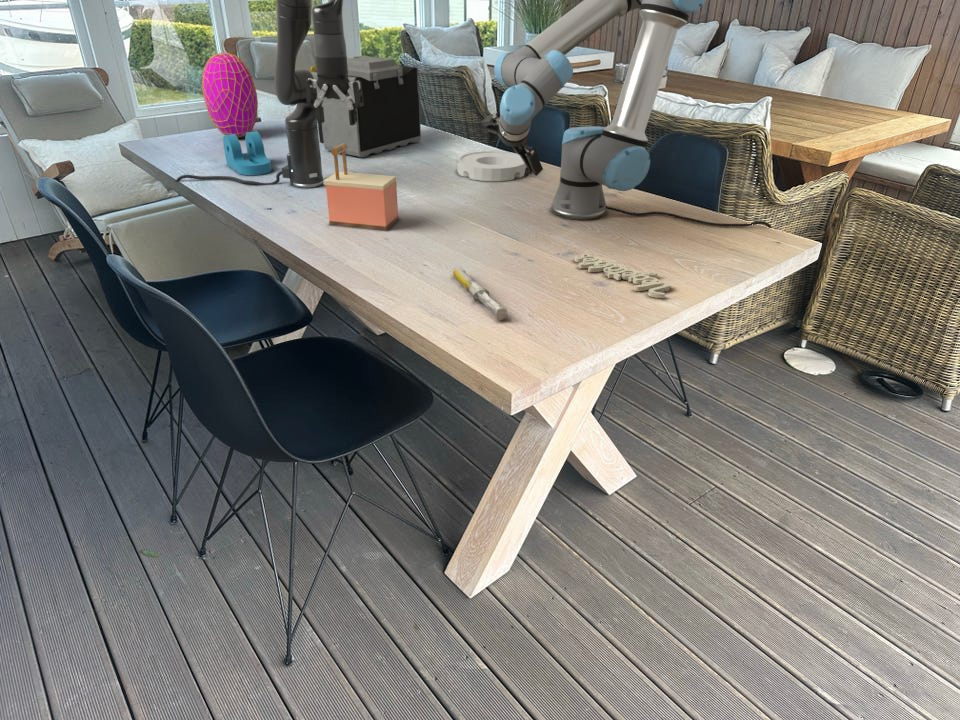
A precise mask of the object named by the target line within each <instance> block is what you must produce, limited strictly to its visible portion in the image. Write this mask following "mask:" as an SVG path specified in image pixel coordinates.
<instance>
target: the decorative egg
mask: <svg viewBox="0 0 960 720" xmlns="http://www.w3.org/2000/svg"><path fill="white" fill-rule="evenodd" d="M201 79H202V80H201V81H202V85H201V86H202V87H201V88H202V89H201V90H202V96H203V101H204V103H205V107H206V110H207V113H208V115H209V118H210V120H211V122H212V123H213V125H214V126H215V127H216V129H217V130H218V131H219V133H221V135H223V136H224V135H230V134H235V135H236V136H237V138H238V139H241V138H244V137H246V133H247V132H253V129H254V127H255V125H256V122H257V118H258V109H259V106H258V105H259V101H258V93H257V89H256V86H255V83H254V79H253V76H252V73H251V72H250V69H249V68H248V67H247V65H246V64H245V62H244V61H243V60H242V59H241V58H240V57H239V56H238V55H235V54H232V53H230V52H219V53H216V54H213V55H211V56H210V57H209V59H207V61H206V63H205V66H204V68H203V72H202V78H201Z"/></svg>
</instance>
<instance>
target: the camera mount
mask: <svg viewBox="0 0 960 720" xmlns="http://www.w3.org/2000/svg"><path fill="white" fill-rule="evenodd" d="M244 137H245V146H246V152H243V151H242V150H243V149H242V146H241V142H240V140H239V138H237V136H236V135H235V134H230V135H224V134H223V138H222V140H223V141H222V143H223V149H224V150H223V151H224V156H225V161H226V165H227V166H228V167H230V168H231V169H232V170H234V171H236V172H237V173H238V174H239V175H244V176H260V175H265V174H268V173H271V172H272V164H271V159H270V158H268V157H267V156H266V153H265V145H264V141H263V139H262V136H261V134H260V132H258V131H251V132H247V133H246V136H244Z"/></svg>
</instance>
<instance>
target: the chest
mask: <svg viewBox="0 0 960 720" xmlns="http://www.w3.org/2000/svg"><path fill="white" fill-rule="evenodd" d="M397 186H398V185H397V180H396V181H395V182H393V183H392V184H391V185H390V186H388V187H387V188H386V189H384V190H378V189H366V188H355V187H344V186H332V185H325V192H326V201H327V210H328V219H329V221H328V222H329V226H337V227H343V228H344V227H345V228H355V229H356V228H357V229H367V230H375V231H385V232H387V231H388V230H389V229H390V228H391V227H392V226H393V225H394V224H396V223H397V222H398V221H399V204H398V203H399V202H398V188H397Z"/></svg>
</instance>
